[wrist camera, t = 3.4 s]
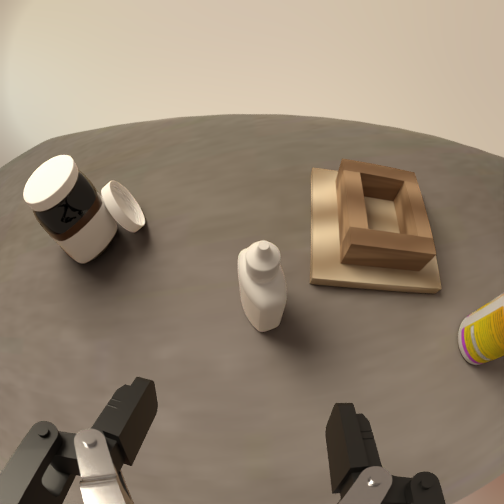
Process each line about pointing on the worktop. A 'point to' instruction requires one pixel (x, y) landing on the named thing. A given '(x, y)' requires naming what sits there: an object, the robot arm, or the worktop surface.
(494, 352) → the supplement bottle
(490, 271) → the worktop surface
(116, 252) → the worktop surface
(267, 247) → the eye dropper bottle
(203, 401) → the worktop surface
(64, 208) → the spread jar
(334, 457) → the robot arm
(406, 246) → the birch holder
